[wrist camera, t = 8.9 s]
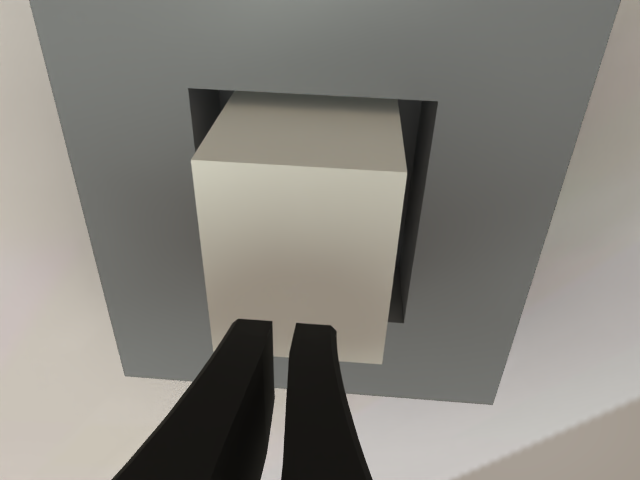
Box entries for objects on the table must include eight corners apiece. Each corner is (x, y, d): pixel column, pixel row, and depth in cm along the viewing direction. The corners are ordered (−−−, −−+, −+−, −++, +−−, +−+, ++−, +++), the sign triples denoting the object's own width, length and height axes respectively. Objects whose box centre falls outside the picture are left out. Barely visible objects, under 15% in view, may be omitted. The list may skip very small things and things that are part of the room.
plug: (394, 79, 14) (407, 172, 10) (378, 235, 17) (381, 364, 13) (246, 71, 15) (190, 160, 10) (254, 227, 17) (213, 351, 13)
